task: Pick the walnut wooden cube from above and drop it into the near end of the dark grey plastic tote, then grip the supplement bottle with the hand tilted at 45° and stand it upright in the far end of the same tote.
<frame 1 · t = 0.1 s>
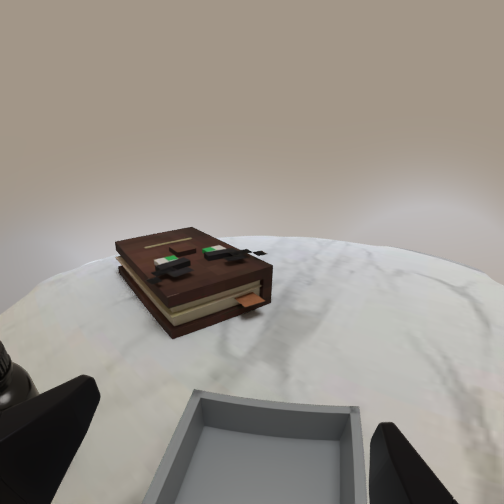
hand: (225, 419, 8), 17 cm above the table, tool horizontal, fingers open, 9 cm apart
supplement bottle: (39, 452, 18), on the table
decorative book: (185, 289, 52), on the table
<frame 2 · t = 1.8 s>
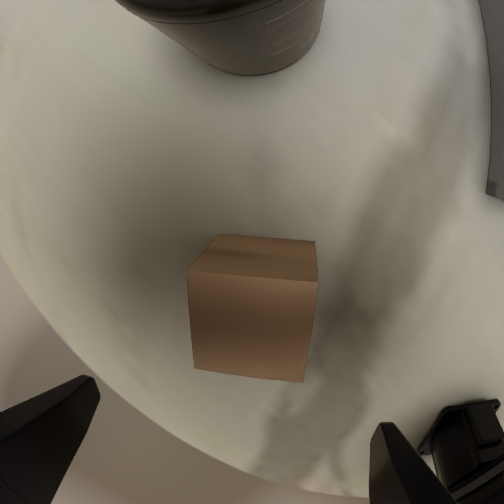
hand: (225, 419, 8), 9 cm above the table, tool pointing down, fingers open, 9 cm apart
supplement bottle: (254, 22, 12), on the table
walnut cube: (264, 280, 17), on the table
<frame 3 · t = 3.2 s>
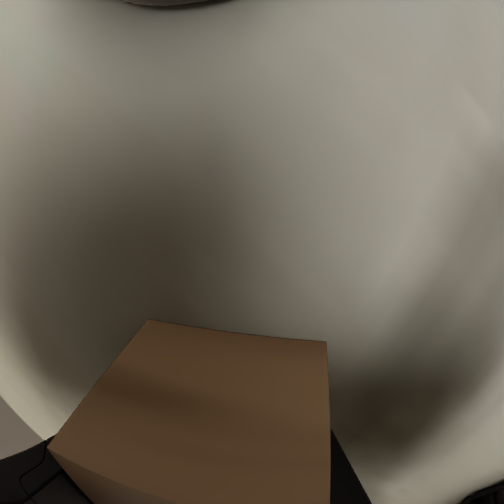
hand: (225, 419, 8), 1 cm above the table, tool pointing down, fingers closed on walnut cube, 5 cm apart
walnut cube: (233, 395, 9), on the table, touching gripper
when the fingers open (5 cm above the table, at t = 7.3 s): walnut cube drops 3 cm, resting on tote.
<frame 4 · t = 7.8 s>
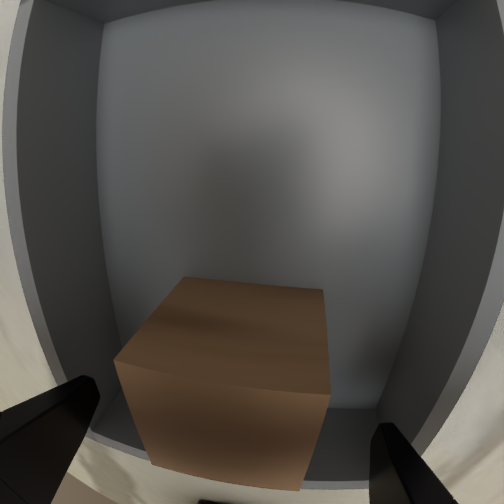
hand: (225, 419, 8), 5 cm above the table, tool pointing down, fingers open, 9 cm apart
walnut cube: (249, 340, 12), point 1 cm above the table, touching tote
tote: (256, 221, 11), on the table
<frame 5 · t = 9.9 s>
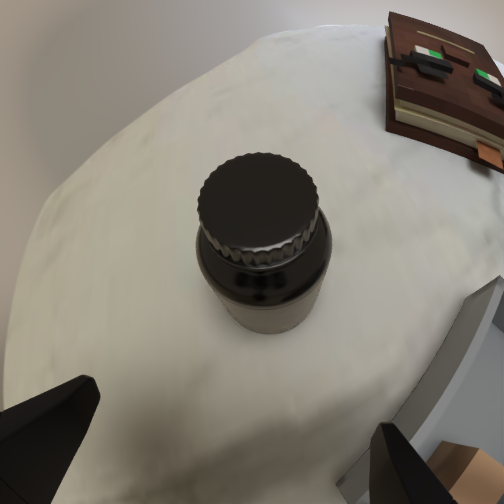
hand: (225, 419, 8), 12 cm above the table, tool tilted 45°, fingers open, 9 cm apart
supplement bottle: (270, 291, 23), on the table
walnut cube: (441, 481, 14), point 1 cm above the table, touching tote
tote: (468, 431, 16), on the table
decorative book: (440, 96, 32), on the table
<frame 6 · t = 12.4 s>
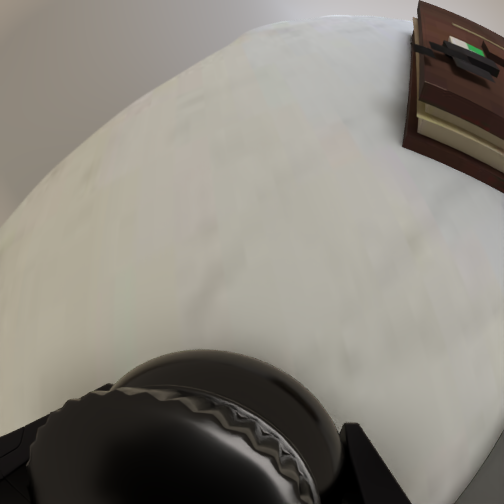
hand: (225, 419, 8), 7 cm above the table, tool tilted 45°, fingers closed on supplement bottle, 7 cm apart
supplement bottle: (245, 432, 13), on the table, touching gripper
decorative book: (477, 108, 23), on the table
when the fingers open (9 cm above the table, at t = 17.2 s): supplement bottle drops 1 cm, resting on tote.
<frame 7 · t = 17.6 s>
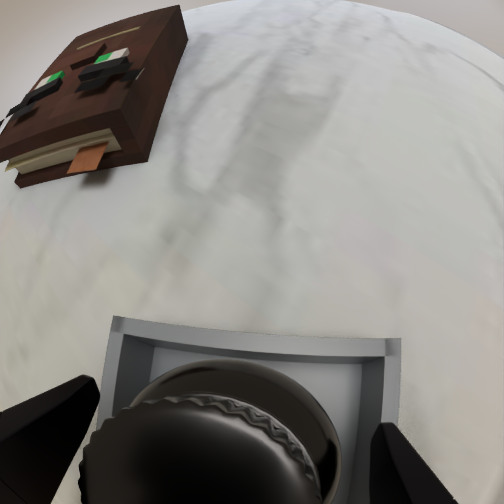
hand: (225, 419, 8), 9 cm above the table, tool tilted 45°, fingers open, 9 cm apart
supplement bottle: (251, 429, 15), point 1 cm above the table, touching tote
tote: (242, 486, 14), on the table
decorative book: (110, 101, 32), on the table
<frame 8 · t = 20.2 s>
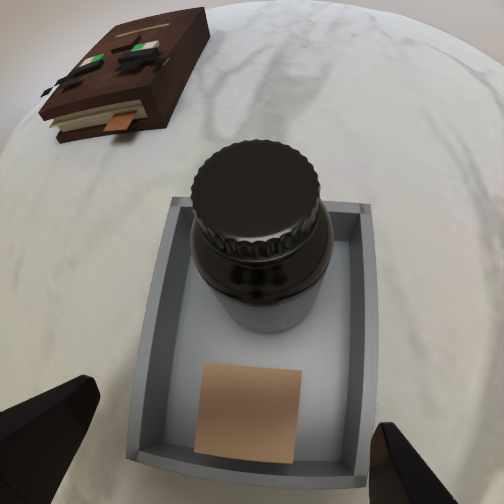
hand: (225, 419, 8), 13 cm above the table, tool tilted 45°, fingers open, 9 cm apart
supplement bottle: (268, 289, 22), point 1 cm above the table, touching tote
walnut cube: (255, 408, 18), point 1 cm above the table, touching tote
tote: (262, 345, 21), on the table
decorative book: (141, 82, 39), on the table
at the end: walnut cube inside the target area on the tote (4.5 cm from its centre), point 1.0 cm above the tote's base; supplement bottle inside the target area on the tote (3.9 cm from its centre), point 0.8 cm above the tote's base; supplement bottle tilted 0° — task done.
